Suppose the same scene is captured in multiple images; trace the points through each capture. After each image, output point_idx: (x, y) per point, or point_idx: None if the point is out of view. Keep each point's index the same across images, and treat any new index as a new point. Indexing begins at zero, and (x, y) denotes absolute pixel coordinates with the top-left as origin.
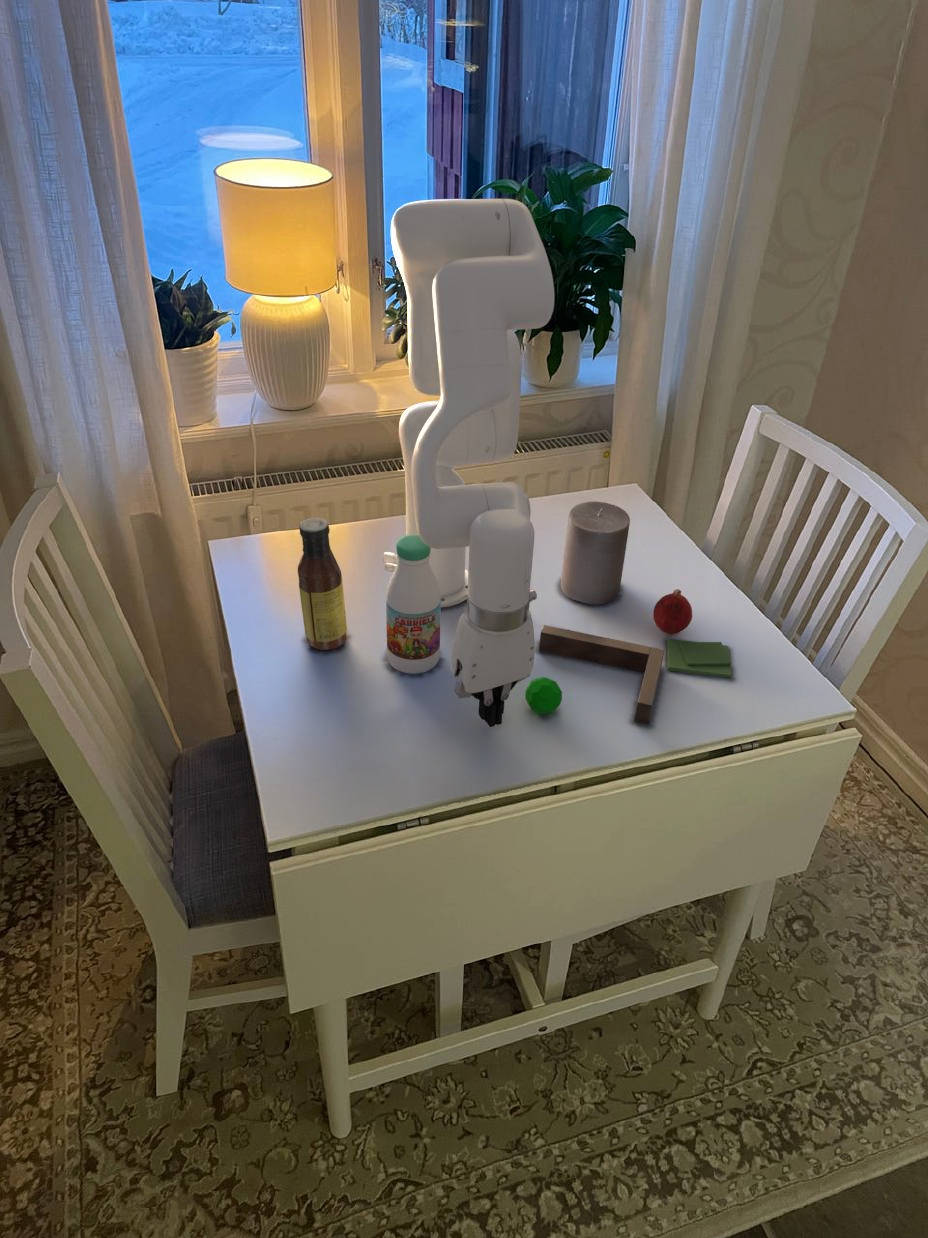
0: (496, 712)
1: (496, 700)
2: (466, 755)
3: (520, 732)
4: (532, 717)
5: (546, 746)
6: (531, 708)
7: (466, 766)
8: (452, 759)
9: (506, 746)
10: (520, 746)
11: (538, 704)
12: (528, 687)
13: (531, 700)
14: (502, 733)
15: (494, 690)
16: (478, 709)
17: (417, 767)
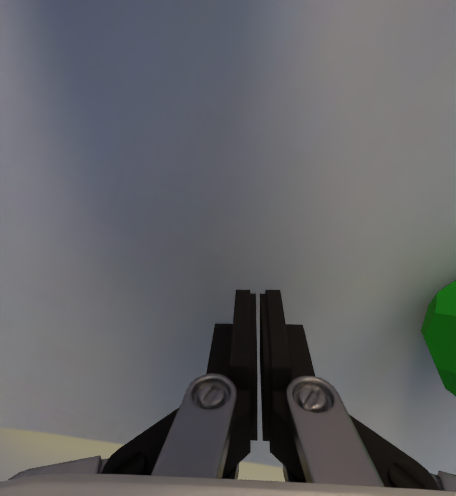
0: (261, 394)
1: (270, 428)
2: (144, 363)
3: (328, 354)
4: (405, 320)
5: (357, 416)
6: (422, 332)
7: (131, 390)
8: (104, 360)
9: (260, 378)
10: None
11: (446, 388)
12: None
13: (438, 369)
14: None
15: (281, 432)
16: (213, 332)
17: (8, 347)
